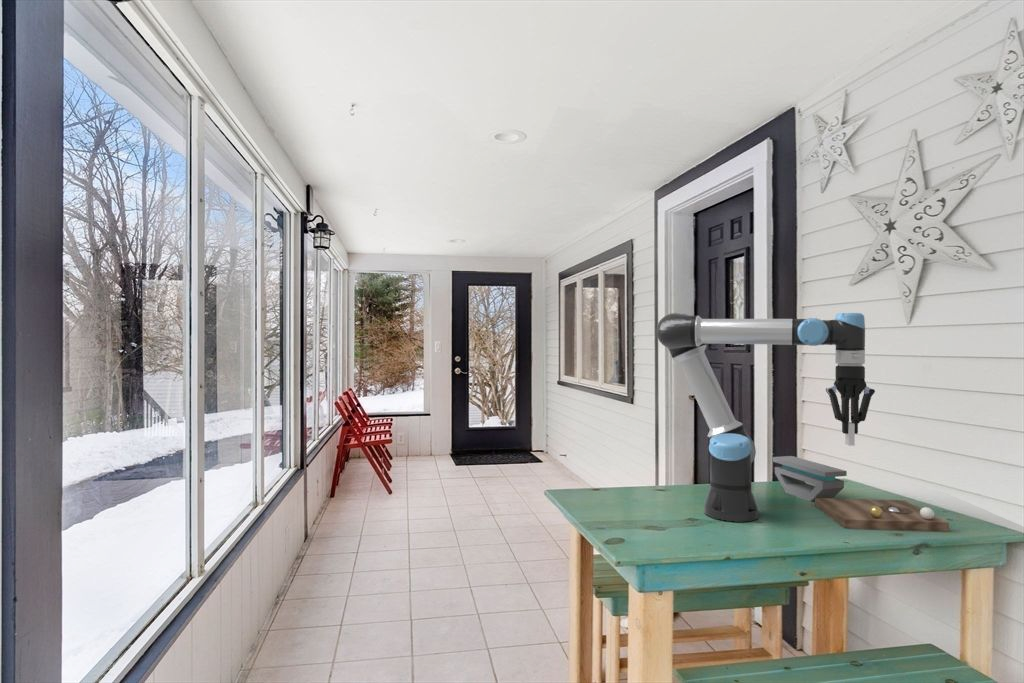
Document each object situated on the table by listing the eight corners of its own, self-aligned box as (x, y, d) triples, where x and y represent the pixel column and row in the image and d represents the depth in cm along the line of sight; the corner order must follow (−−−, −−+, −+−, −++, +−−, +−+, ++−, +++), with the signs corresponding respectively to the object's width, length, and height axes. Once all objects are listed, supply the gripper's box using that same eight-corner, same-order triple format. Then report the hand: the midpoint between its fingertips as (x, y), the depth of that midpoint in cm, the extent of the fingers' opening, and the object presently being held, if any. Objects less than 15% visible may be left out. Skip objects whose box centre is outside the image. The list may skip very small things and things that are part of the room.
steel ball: (894, 506, 165) (904, 513, 165) (889, 503, 168) (899, 510, 168) (887, 515, 165) (897, 522, 165) (882, 512, 168) (892, 519, 168)
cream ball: (923, 520, 156) (923, 509, 156) (917, 517, 159) (917, 505, 159) (936, 521, 156) (936, 509, 156) (930, 517, 159) (929, 506, 159)
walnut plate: (845, 528, 158) (845, 519, 158) (815, 505, 180) (814, 498, 180) (948, 531, 155) (948, 522, 155) (905, 508, 176) (904, 500, 176)
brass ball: (872, 519, 158) (872, 507, 158) (867, 515, 161) (866, 504, 161) (885, 519, 158) (884, 507, 158) (879, 516, 161) (879, 504, 161)
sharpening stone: (847, 505, 180) (846, 471, 180) (825, 507, 179) (825, 472, 179) (792, 486, 205) (791, 455, 205) (772, 487, 203) (772, 457, 203)
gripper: (831, 365, 167) (831, 446, 167) (880, 365, 165) (879, 447, 165) (821, 364, 174) (821, 441, 174) (868, 364, 172) (868, 443, 172)
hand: (849, 444), depth 170 cm, fingers closed
